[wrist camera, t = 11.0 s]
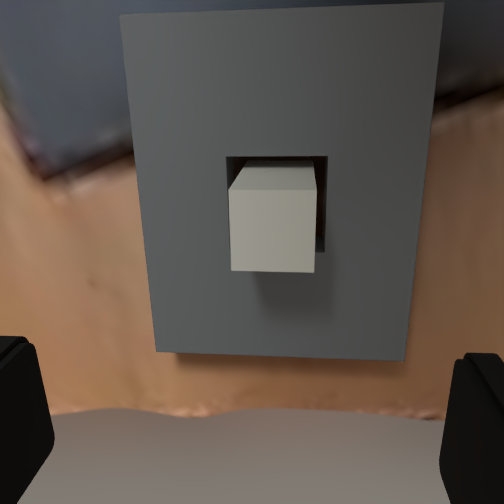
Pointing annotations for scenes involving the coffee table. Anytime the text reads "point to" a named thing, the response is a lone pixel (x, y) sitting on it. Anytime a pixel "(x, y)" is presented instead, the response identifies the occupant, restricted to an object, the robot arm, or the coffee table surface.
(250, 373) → the coffee table surface
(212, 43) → the socket plate
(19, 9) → the coffee table surface
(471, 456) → the robot arm
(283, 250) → the plug
